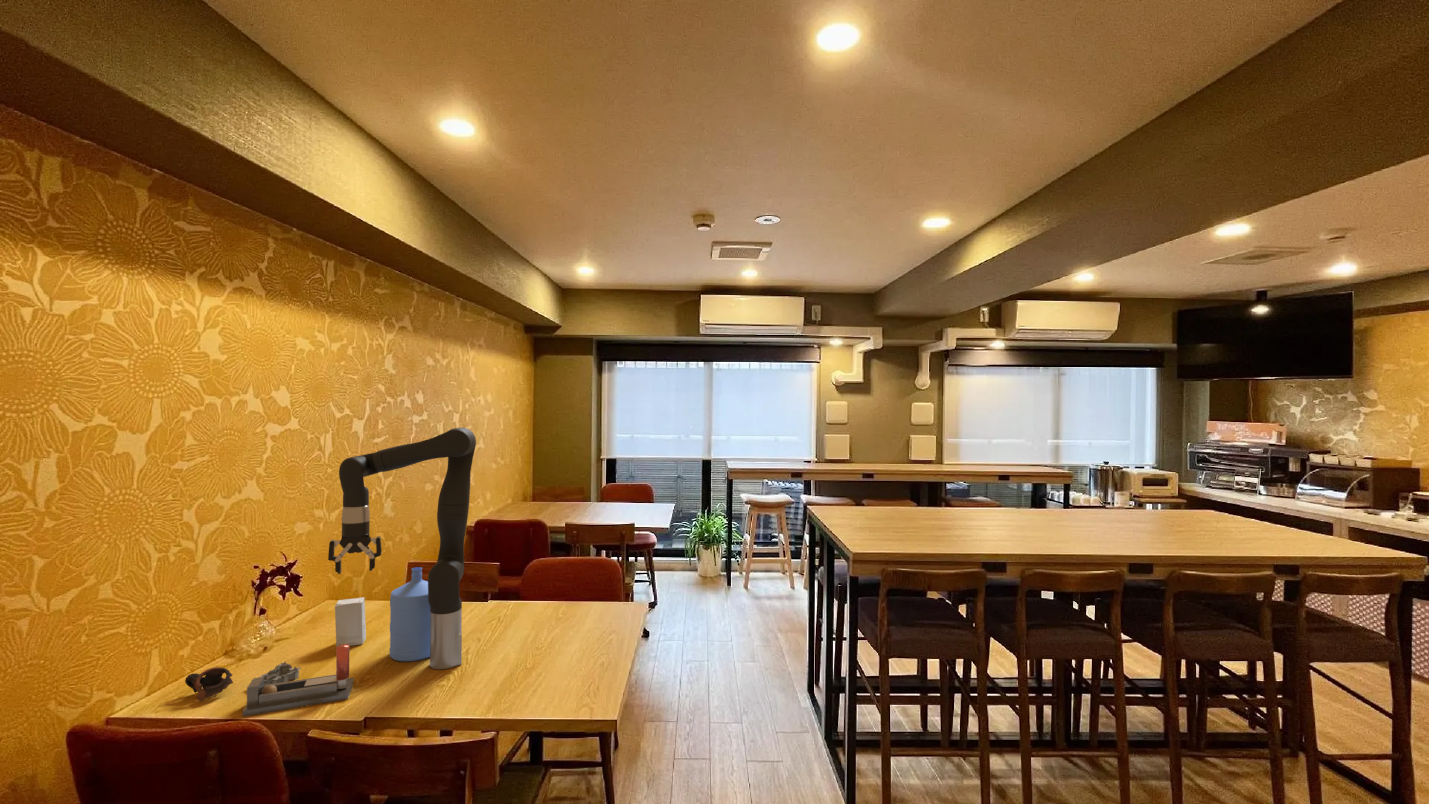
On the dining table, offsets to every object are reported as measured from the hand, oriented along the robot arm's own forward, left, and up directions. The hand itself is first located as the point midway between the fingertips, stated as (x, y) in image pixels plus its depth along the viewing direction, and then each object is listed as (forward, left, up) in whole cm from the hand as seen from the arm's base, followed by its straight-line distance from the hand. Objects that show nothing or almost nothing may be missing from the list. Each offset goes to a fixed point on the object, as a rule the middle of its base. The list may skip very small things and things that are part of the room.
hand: (355, 571), depth 189 cm
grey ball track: (+11, +17, -30) cm, 36 cm away
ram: (+5, +17, -28) cm, 33 cm away
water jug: (-17, -5, -30) cm, 35 cm away
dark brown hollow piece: (+35, +3, -30) cm, 47 cm away
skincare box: (+4, -22, -30) cm, 38 cm away
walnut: (+18, +17, -29) cm, 38 cm away
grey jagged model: (+19, +2, -31) cm, 36 cm away
